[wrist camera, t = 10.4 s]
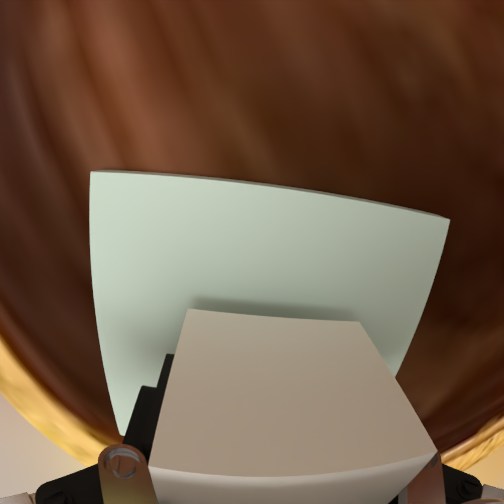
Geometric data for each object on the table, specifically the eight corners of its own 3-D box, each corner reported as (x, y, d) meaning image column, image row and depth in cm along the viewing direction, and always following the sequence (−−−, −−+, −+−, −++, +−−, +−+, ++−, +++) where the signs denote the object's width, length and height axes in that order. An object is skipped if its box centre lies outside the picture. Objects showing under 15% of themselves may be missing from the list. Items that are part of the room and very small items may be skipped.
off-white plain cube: (358, 321, 10) (437, 451, 5) (318, 427, 12) (346, 537, 7) (187, 308, 10) (148, 466, 4) (186, 422, 12) (171, 542, 6)
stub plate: (437, 214, 12) (497, 241, 8) (352, 434, 16) (370, 483, 12) (101, 169, 10) (44, 182, 7) (124, 422, 15) (107, 474, 11)
